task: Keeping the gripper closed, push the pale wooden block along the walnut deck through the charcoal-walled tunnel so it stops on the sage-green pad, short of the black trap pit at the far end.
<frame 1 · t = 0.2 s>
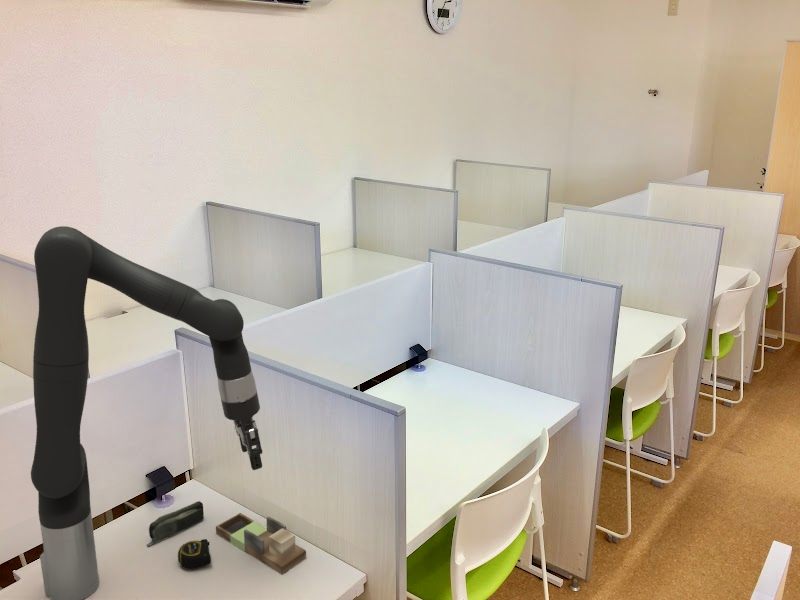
hand: (252, 459, 148), 23 cm above the table, fingers open, 8 cm apart
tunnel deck: (260, 545, 155), on the table
green pencil case: (175, 532, 160), on the table
tape measure: (198, 562, 150), on the table
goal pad: (249, 539, 157), on the table
block: (282, 551, 150), point 2 cm above the table, touching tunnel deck
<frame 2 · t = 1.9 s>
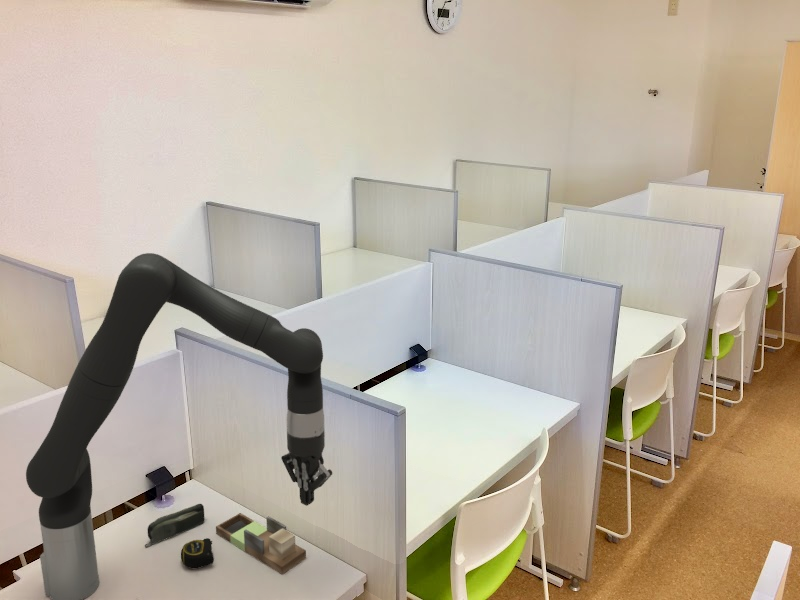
hand: (307, 502, 141), 18 cm above the table, fingers closed
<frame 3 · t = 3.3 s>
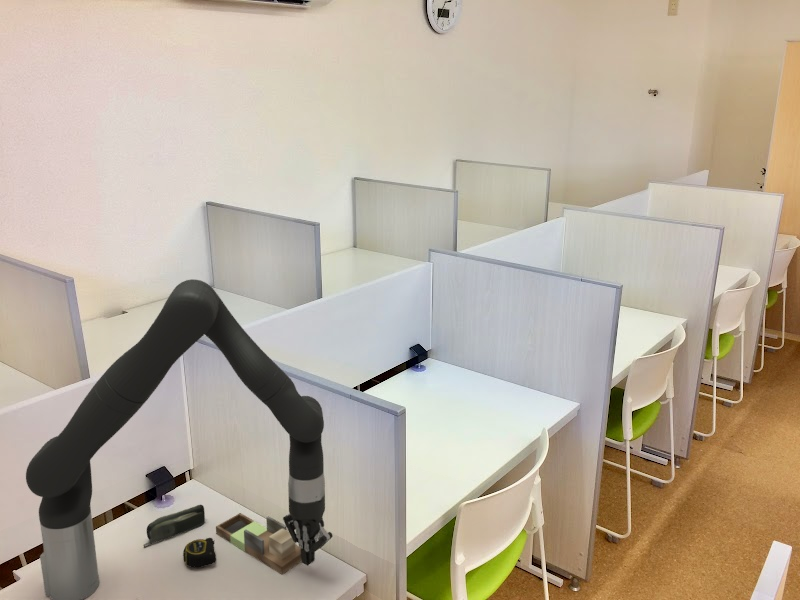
hand: (307, 562, 145), 3 cm above the table, fingers closed
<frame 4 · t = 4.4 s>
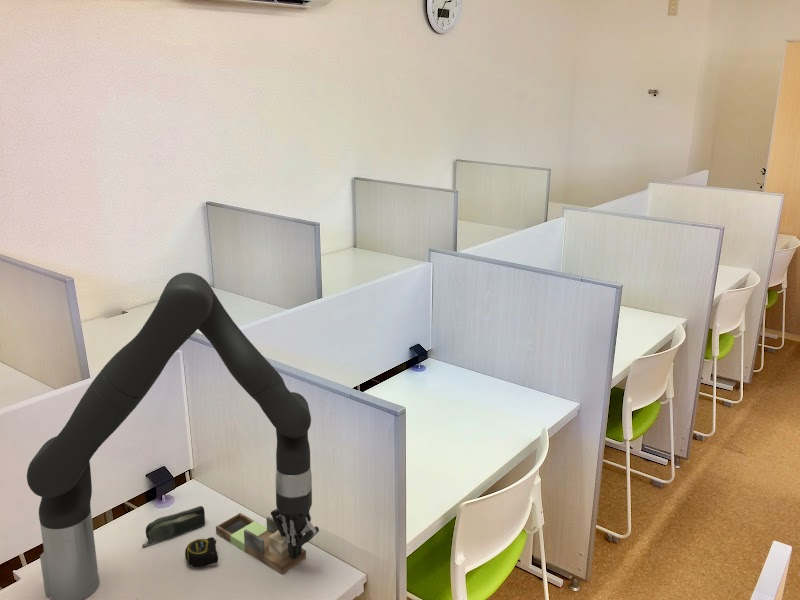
hand: (295, 556, 147), 3 cm above the table, fingers closed
block: (282, 551, 150), point 2 cm above the table, touching gripper, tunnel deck
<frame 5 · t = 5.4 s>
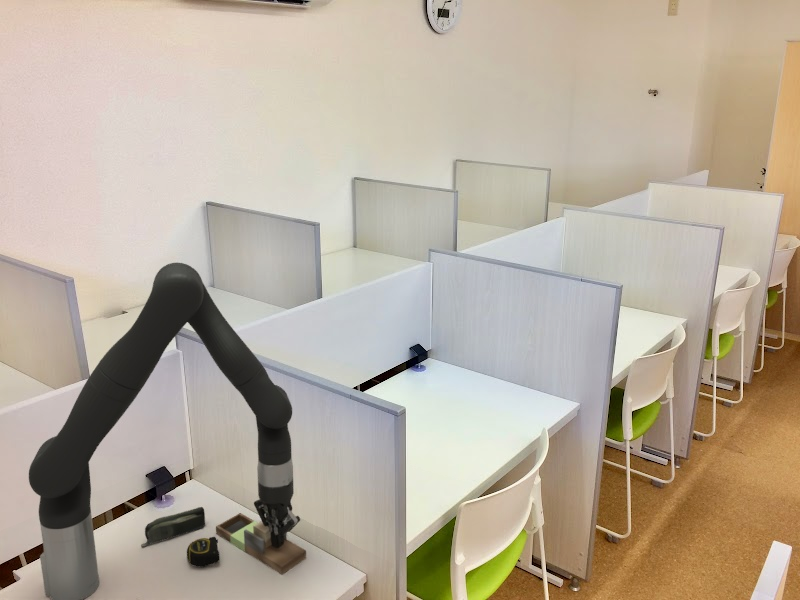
hand: (277, 545, 151), 3 cm above the table, fingers closed
block: (266, 540, 154), point 2 cm above the table, touching gripper, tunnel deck
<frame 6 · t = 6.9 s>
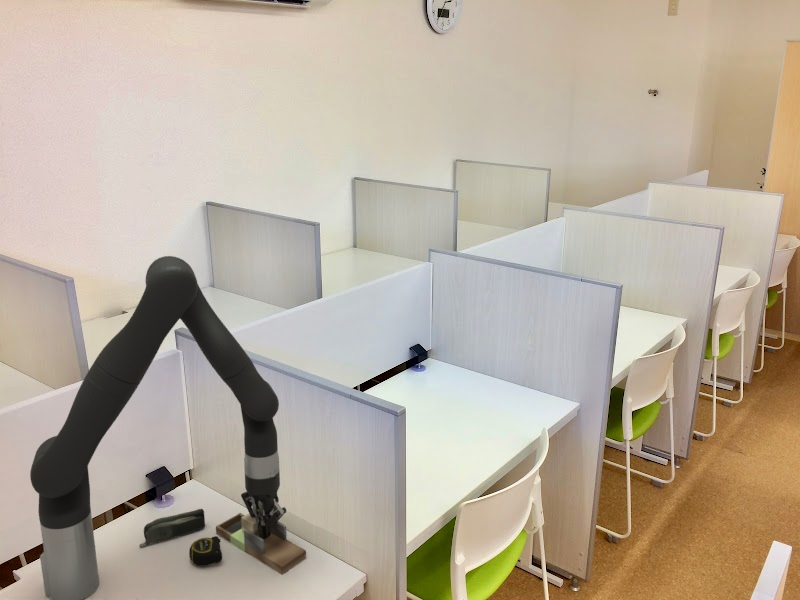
hand: (264, 536, 154), 3 cm above the table, fingers closed
block: (254, 532, 157), point 2 cm above the table, touching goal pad, gripper, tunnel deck
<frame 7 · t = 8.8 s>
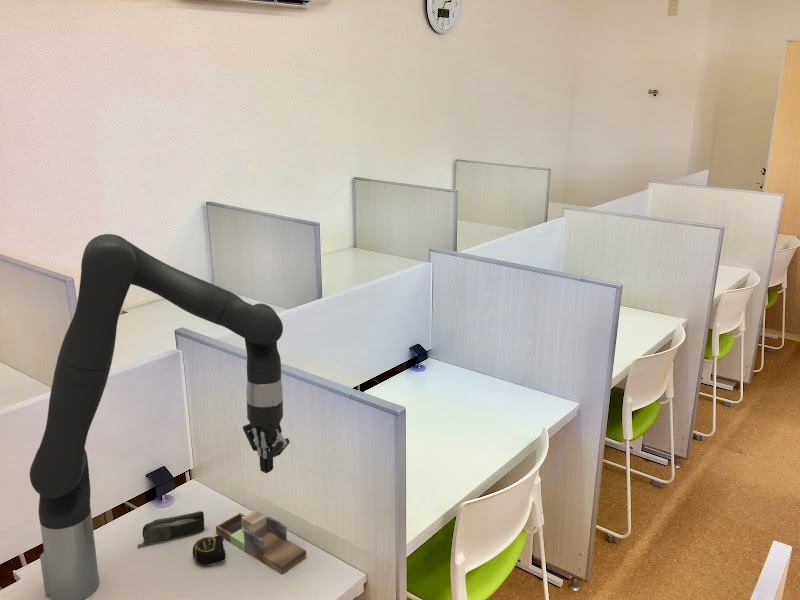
hand: (266, 470, 148), 20 cm above the table, fingers closed
block: (254, 532, 157), point 2 cm above the table, touching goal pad, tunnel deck
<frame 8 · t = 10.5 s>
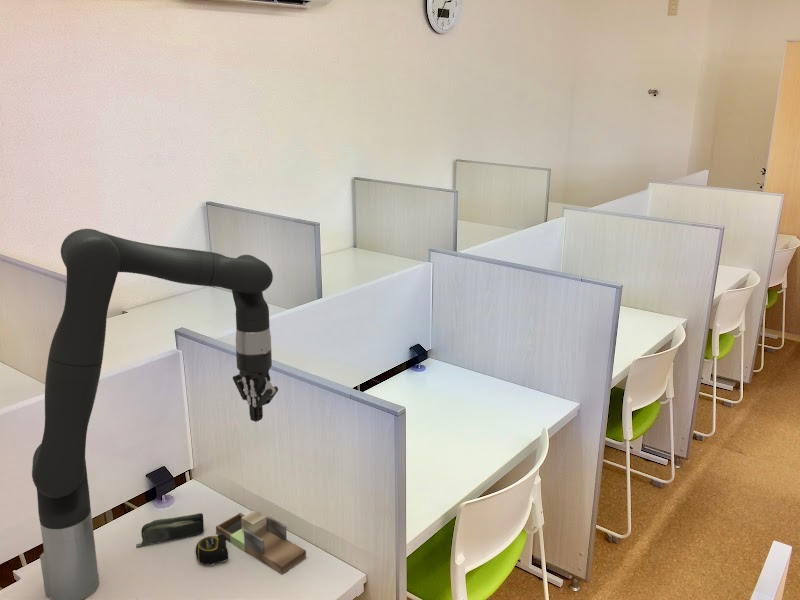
hand: (256, 419, 152), 29 cm above the table, fingers closed
at the end: block 1.1 cm from the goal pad (horizontally); block point 2.0 cm above the table; block tilted 0° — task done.
